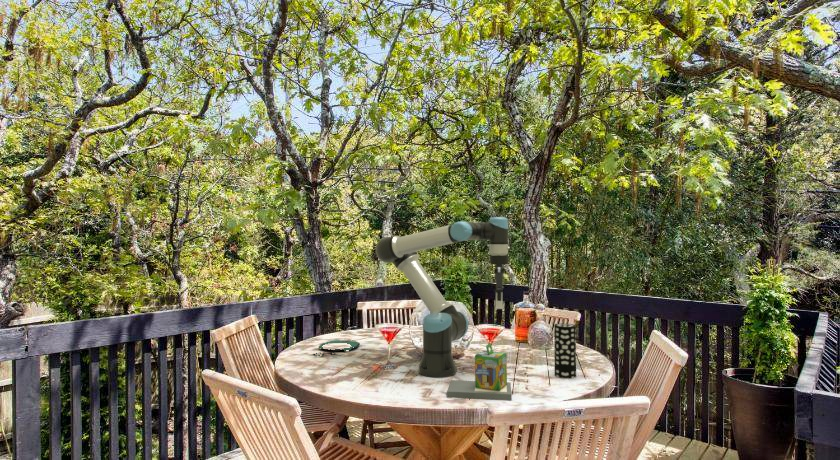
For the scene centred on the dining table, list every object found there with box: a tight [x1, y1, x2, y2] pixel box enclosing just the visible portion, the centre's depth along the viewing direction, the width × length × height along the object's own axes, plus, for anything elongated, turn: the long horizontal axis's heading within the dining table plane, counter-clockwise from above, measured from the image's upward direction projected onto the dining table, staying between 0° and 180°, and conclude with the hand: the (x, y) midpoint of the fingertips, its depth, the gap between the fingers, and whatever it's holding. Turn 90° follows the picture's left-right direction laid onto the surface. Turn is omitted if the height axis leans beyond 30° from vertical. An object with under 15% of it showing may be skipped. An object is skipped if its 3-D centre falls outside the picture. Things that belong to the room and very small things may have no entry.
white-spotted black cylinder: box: [553, 322, 577, 379], centre depth 204 cm, size 8×8×20 cm
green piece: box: [318, 339, 361, 352], centre depth 249 cm, size 20×30×2 cm, turn 165°
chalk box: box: [474, 343, 508, 391], centre depth 182 cm, size 9×9×15 cm
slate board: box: [446, 379, 513, 401], centre depth 182 cm, size 22×14×2 cm, turn 81°
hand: (499, 306), depth 210 cm, fingers open, 13 cm apart
